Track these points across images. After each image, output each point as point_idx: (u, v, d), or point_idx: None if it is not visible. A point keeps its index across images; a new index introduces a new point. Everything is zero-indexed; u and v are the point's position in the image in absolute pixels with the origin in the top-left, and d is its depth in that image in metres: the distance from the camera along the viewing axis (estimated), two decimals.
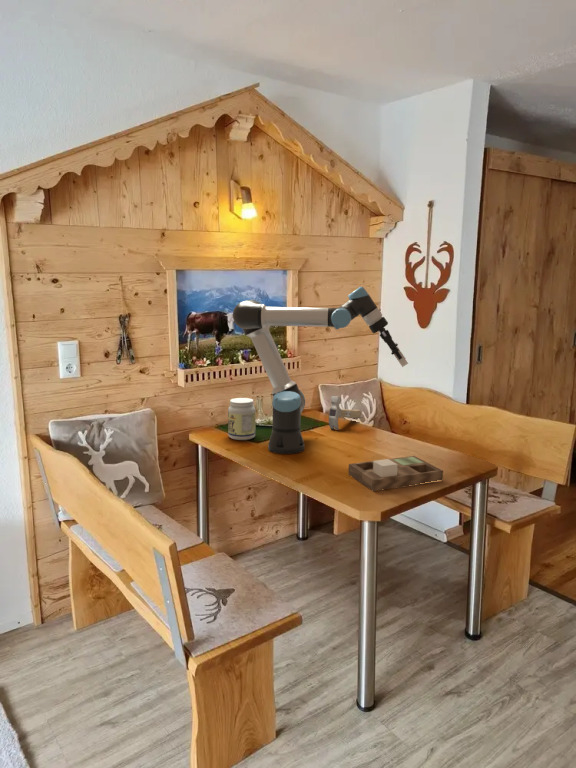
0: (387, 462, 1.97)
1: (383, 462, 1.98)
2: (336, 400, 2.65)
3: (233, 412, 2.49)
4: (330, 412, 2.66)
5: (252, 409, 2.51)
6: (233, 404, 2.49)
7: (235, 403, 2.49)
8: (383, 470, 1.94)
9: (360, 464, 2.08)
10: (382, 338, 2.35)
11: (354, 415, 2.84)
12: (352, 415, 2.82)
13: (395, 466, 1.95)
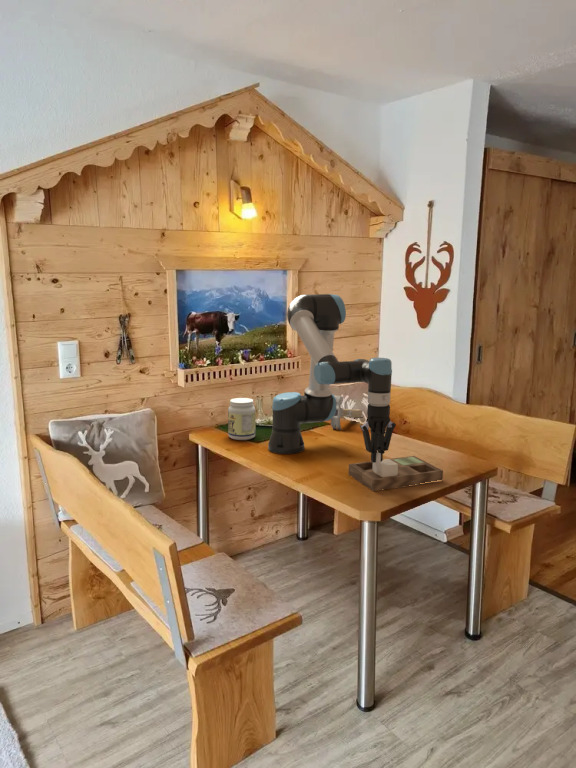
0: (387, 462, 1.97)
1: (384, 462, 1.98)
2: (338, 400, 2.66)
3: (233, 412, 2.49)
4: None
5: (252, 409, 2.51)
6: (233, 404, 2.49)
7: (235, 403, 2.49)
8: (384, 470, 1.94)
9: (360, 464, 2.08)
10: None
11: (355, 415, 2.85)
12: (354, 415, 2.82)
13: (395, 465, 1.95)
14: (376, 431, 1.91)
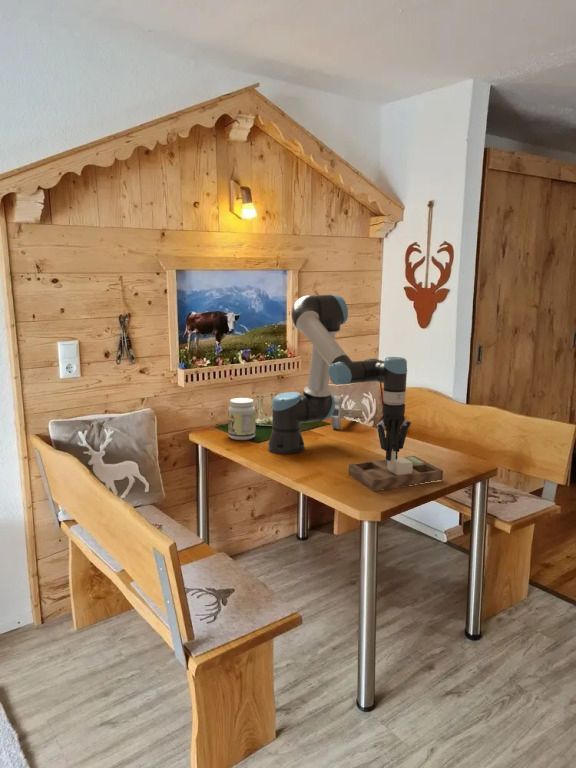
0: (402, 460, 1.99)
1: (398, 460, 2.00)
2: (339, 400, 2.66)
3: (233, 412, 2.49)
4: (333, 412, 2.67)
5: (252, 409, 2.51)
6: (233, 404, 2.49)
7: (235, 403, 2.49)
8: (399, 468, 1.96)
9: (360, 464, 2.08)
10: None
11: (356, 415, 2.85)
12: (354, 415, 2.83)
13: (410, 464, 1.97)
14: (391, 429, 1.94)
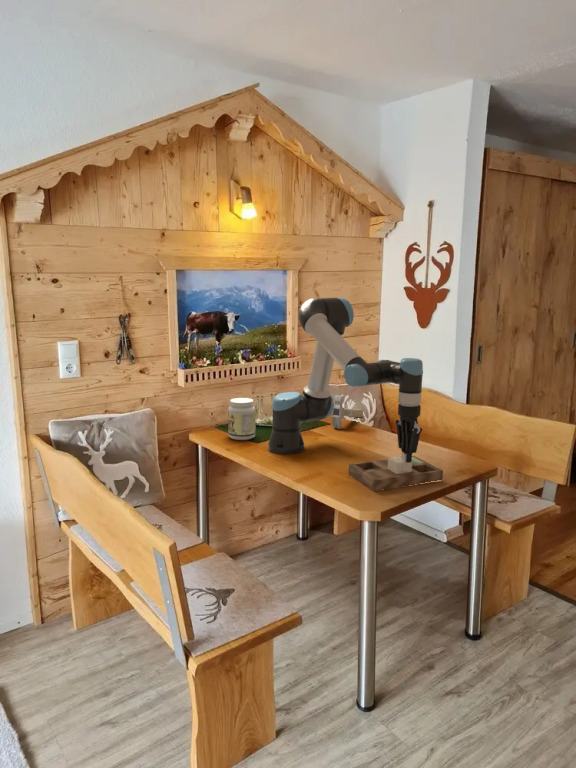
0: (401, 459, 2.00)
1: (398, 459, 2.01)
2: (339, 399, 2.66)
3: (233, 412, 2.49)
4: (334, 411, 2.68)
5: (252, 409, 2.51)
6: (233, 404, 2.49)
7: (235, 403, 2.49)
8: (398, 466, 1.97)
9: (360, 464, 2.08)
10: (407, 429, 1.93)
11: (356, 414, 2.85)
12: (355, 414, 2.83)
13: None
14: None
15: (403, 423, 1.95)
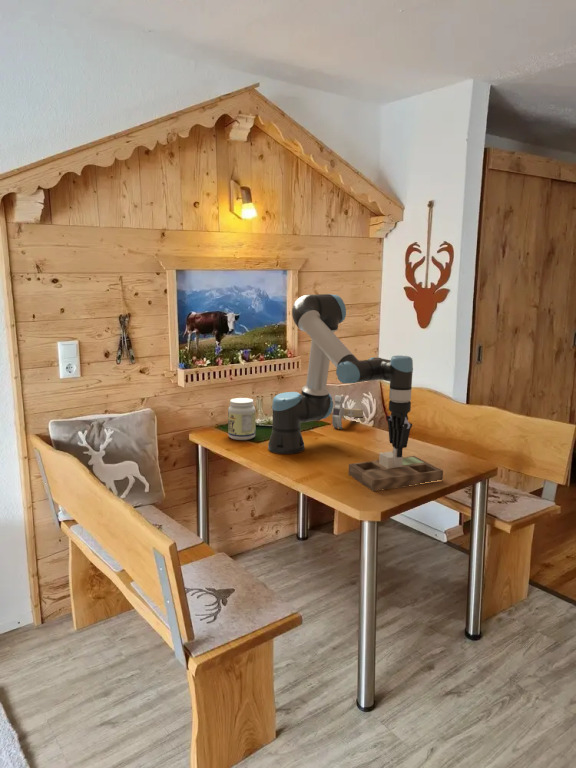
0: (392, 454, 2.06)
1: (389, 454, 2.06)
2: (340, 399, 2.67)
3: (233, 412, 2.49)
4: (334, 411, 2.68)
5: (252, 409, 2.51)
6: (233, 404, 2.49)
7: (235, 403, 2.49)
8: (389, 461, 2.03)
9: (360, 464, 2.08)
10: (397, 424, 1.98)
11: (356, 414, 2.86)
12: (355, 414, 2.84)
13: None
14: None
15: (394, 419, 2.00)
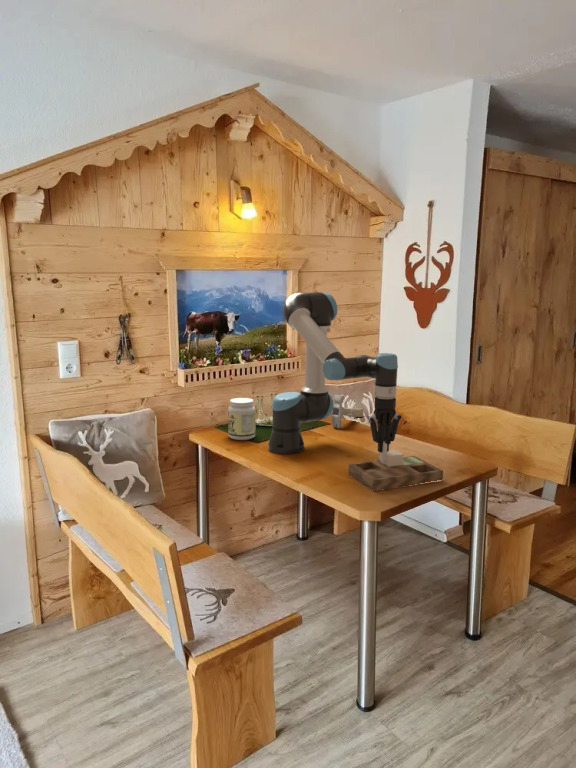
0: (393, 452, 2.08)
1: (390, 452, 2.09)
2: (339, 399, 2.68)
3: (233, 412, 2.49)
4: (333, 411, 2.69)
5: (252, 409, 2.51)
6: (233, 404, 2.49)
7: (235, 403, 2.49)
8: (390, 459, 2.05)
9: (360, 464, 2.08)
10: None
11: (357, 414, 2.86)
12: (355, 414, 2.84)
13: (401, 455, 2.06)
14: (383, 423, 2.02)
15: None
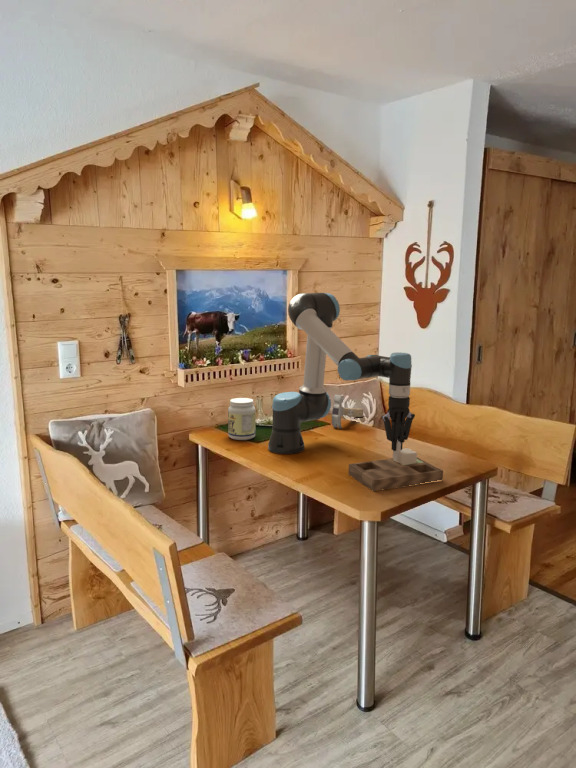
0: (407, 451, 2.10)
1: (403, 450, 2.11)
2: (339, 399, 2.68)
3: (233, 412, 2.49)
4: (333, 411, 2.69)
5: (252, 409, 2.51)
6: (233, 404, 2.49)
7: (235, 403, 2.49)
8: (404, 458, 2.07)
9: (360, 464, 2.08)
10: None
11: (357, 414, 2.86)
12: (355, 414, 2.84)
13: (414, 454, 2.08)
14: (397, 421, 2.05)
15: None
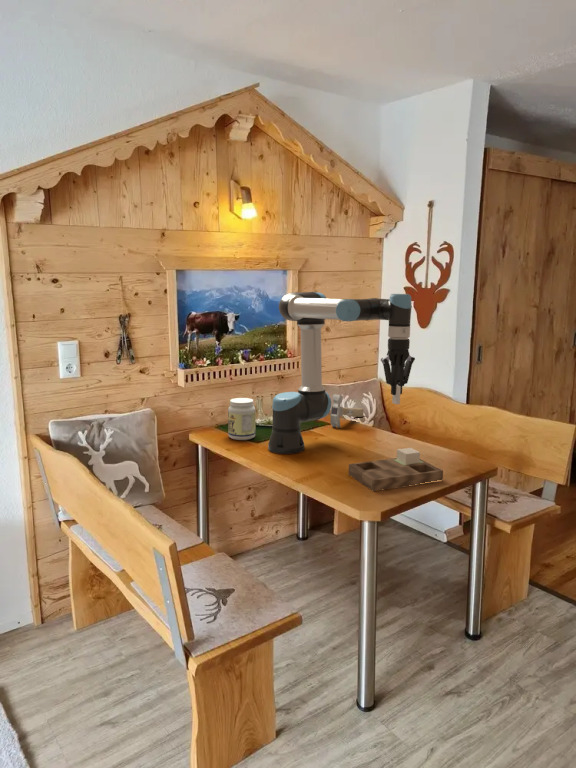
0: (410, 450, 2.10)
1: (406, 450, 2.11)
2: (338, 398, 2.69)
3: (233, 412, 2.49)
4: (332, 410, 2.70)
5: (252, 409, 2.51)
6: (233, 404, 2.49)
7: (235, 403, 2.49)
8: (407, 457, 2.07)
9: (360, 464, 2.08)
10: None
11: (356, 414, 2.87)
12: (355, 413, 2.85)
13: (417, 453, 2.09)
14: (396, 364, 2.00)
15: None
